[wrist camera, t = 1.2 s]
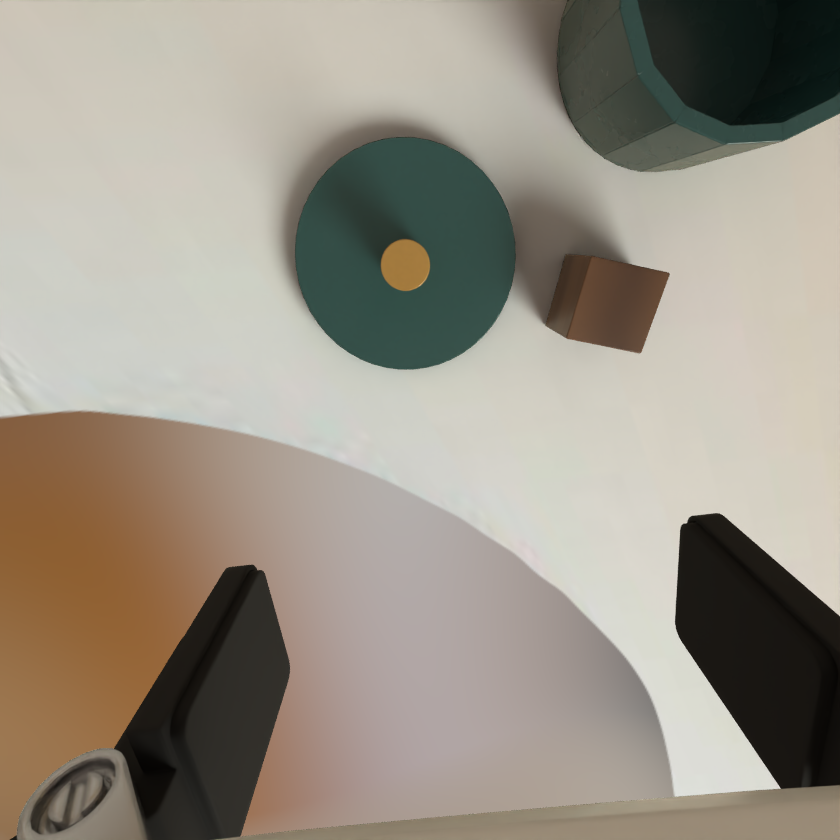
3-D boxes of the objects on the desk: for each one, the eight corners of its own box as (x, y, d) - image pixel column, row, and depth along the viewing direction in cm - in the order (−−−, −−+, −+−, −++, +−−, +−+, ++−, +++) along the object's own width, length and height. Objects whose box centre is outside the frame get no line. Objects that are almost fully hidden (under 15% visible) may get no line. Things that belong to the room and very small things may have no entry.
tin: (521, 124, 30) (568, 74, 21) (621, -147, 26) (732, -351, 17) (707, 203, 32) (821, 187, 23) (830, -39, 28) (1027, -172, 19)
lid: (276, 327, 34) (249, 344, 29) (332, 103, 30) (313, 69, 24) (466, 391, 36) (477, 419, 30) (546, 190, 32) (577, 178, 26)
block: (544, 325, 35) (566, 338, 30) (565, 254, 33) (591, 255, 28) (610, 339, 35) (641, 353, 30) (633, 269, 34) (670, 273, 29)
